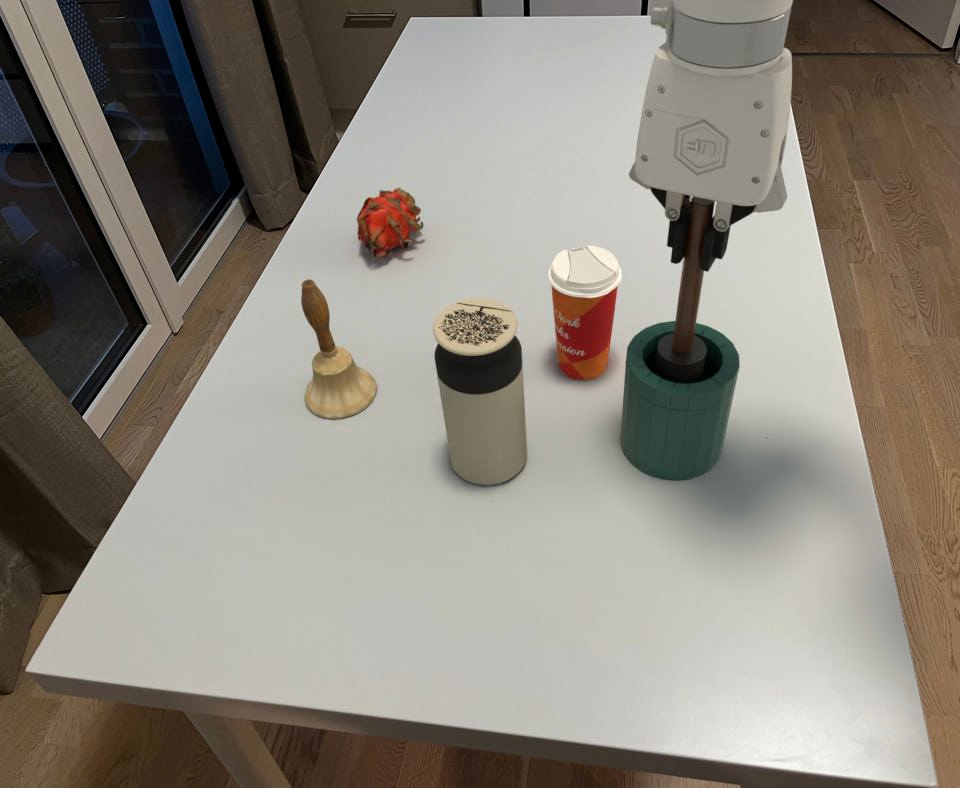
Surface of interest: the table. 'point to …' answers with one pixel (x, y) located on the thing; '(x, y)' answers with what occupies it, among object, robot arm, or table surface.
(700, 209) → the peg on round base
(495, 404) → the travel mug
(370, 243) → the dragon fruit
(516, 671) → the table surface
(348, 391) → the hand bell
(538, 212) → the table surface
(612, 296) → the paper cup
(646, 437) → the jar
